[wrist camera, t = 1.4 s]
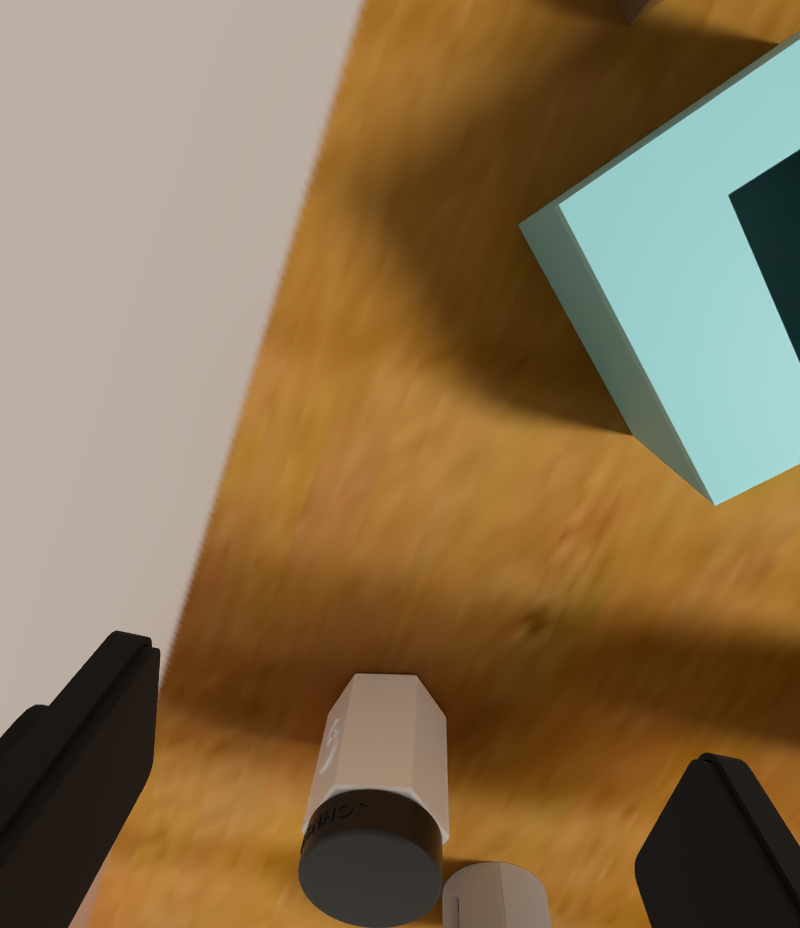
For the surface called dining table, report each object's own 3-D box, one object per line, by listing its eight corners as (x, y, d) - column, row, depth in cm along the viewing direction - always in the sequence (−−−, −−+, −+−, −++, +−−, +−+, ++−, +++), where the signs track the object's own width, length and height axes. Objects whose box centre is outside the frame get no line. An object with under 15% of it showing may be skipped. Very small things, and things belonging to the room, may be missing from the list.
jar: (366, 649, 39) (339, 805, 28) (463, 696, 40) (475, 865, 29) (313, 729, 42) (269, 899, 31) (404, 771, 43) (394, 951, 32)
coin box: (779, 43, 25) (984, -88, 16) (876, 302, 29) (1088, 319, 19) (517, 224, 29) (558, 204, 19) (633, 435, 32) (715, 505, 23)
